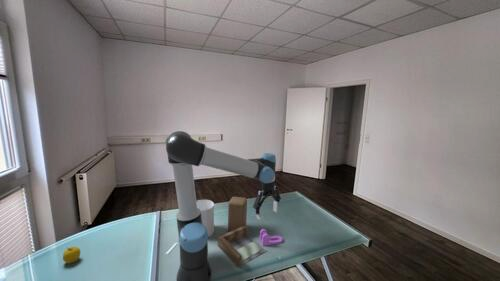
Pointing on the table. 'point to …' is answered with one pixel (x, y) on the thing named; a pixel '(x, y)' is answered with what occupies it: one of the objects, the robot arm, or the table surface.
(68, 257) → the apple
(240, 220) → the wooden block
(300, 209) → the table surface
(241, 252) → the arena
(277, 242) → the bracket
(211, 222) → the container
